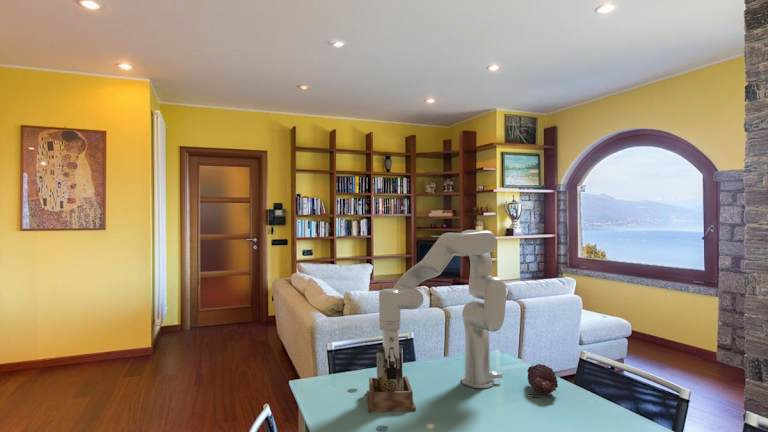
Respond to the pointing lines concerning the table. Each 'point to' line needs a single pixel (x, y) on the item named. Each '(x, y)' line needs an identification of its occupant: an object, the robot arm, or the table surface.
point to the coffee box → (382, 380)
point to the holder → (390, 398)
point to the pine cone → (542, 379)
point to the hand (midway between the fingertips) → (390, 374)
